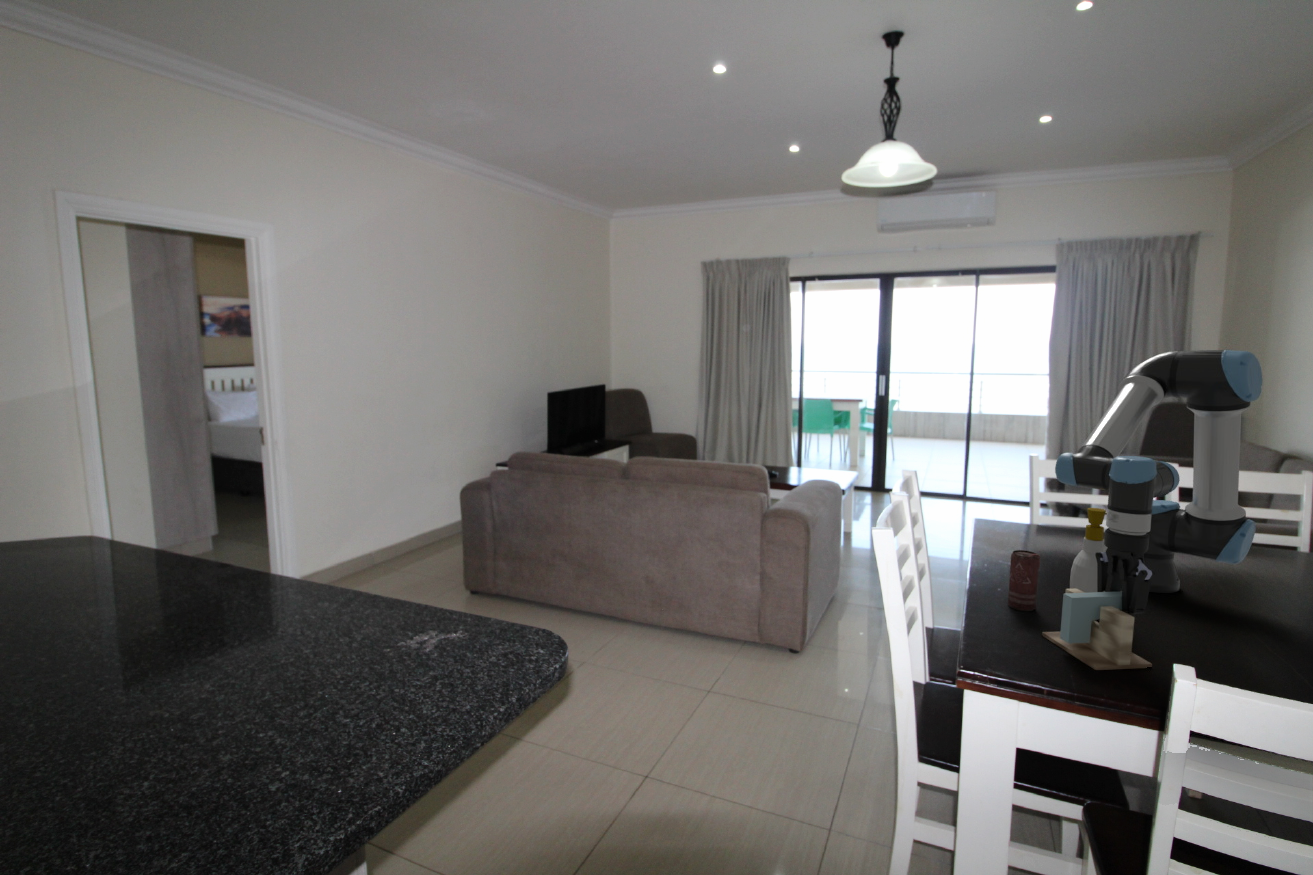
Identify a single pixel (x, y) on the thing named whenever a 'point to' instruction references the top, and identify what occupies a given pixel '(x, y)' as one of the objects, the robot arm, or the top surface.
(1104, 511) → the soap bottle
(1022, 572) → the can
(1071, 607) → the pale blue tunnel block
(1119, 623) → the birch jig
